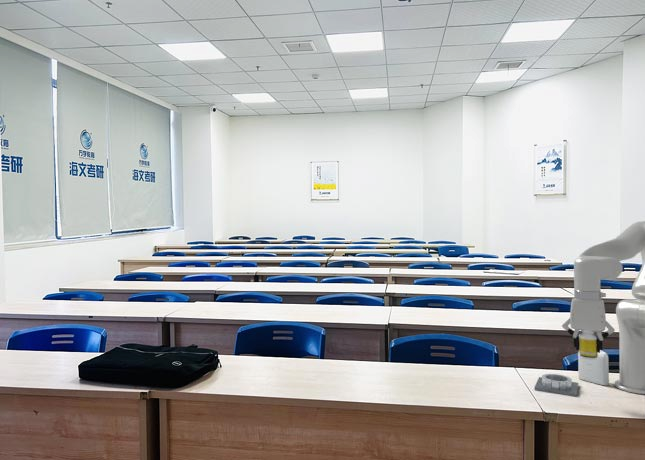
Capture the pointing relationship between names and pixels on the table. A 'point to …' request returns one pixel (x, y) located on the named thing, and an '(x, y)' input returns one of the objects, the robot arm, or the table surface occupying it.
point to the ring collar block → (557, 384)
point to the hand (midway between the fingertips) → (588, 350)
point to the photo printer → (594, 369)
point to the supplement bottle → (588, 345)
